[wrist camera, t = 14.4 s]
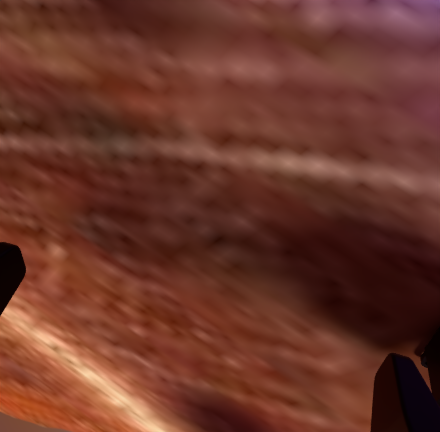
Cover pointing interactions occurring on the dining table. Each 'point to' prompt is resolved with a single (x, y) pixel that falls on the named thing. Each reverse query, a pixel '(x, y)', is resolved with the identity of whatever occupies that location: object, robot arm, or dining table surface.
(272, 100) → the dining table surface
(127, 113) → the dining table surface
